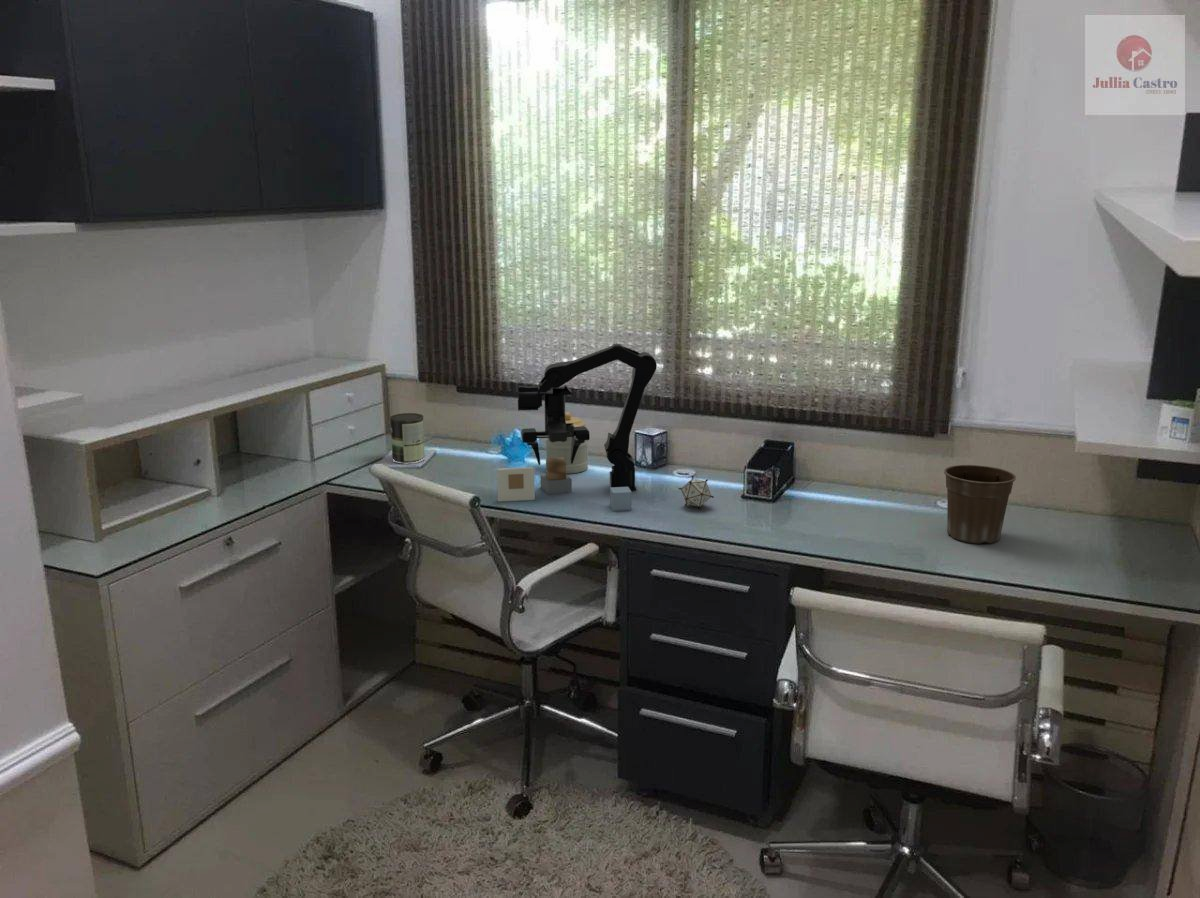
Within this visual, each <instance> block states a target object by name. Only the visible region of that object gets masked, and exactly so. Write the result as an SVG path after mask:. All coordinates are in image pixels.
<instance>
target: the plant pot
mask: <svg viewBox="0 0 1200 898" xmlns="http://www.w3.org/2000/svg"><path fill="white" fill-rule="evenodd" d="M943 473H944V475H945V487H946V491H947V497H946V498H947V499H946V500H947V502H946V503H947V505H946V506H947V508H946V509H947V510H946V511H947V513H946V514H947V519H946V520H947V525H946V531H947V535H948V536H951V537H950V538H952V539H955V540H957V541H959V542H964V543H966V544H967V543H969V544H982V543H987V544H995V543H997V542H999V540H1001V534H1002V529H1003V526H1004V520H1005V515H1006V511H1007V506H1008V502H1009V498H1010V494H1012V489H1013V485H1014V482H1015V481H1016V479H1017V476H1016V474H1014V473H1013V472H1011V471H1009V470H1006V469H1002V468H998V467H994V466H987V465H980V464H979V465H977V464H976V465H975V464H959V465H952V466H948V467H945V468H944V470H943Z"/></svg>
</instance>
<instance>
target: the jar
mask: <svg viewBox="0 0 1200 898" xmlns="http://www.w3.org/2000/svg"><path fill="white" fill-rule="evenodd" d="M565 422H566V424H567V423H573V425H574V427H582V426H585V427H586V422H585V421H584V420H582V419H581V418H580V417H576V416H572V414H571V413H570V412H568V411H565ZM584 441H585V443H581V445H580V446H579V448H578V450H577V452H576V455H575V458H574V461H573V464H571V444H572V437H567V441H565V442H562V441H557V442H550V441H549V438H546V441H545V444H546V445H545V448H546V449H545V451H546V452H545V453H546V457H545V458H560V457H564V459H565V461H566V475H568V474H578V473H582V472H584V471H586V470H588V467H589V454H588V453H589V448H588V447H589V446H588V445H589V440H584Z"/></svg>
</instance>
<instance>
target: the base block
mask: <svg viewBox="0 0 1200 898" xmlns="http://www.w3.org/2000/svg"><path fill="white" fill-rule="evenodd" d="M572 481H573V478H572V477H570V476H569V475H568V474H566V479H557V480H548V477H547V475H546V473H543V474H540V488H541V489H542V490H543V491H544V492H545V493H546V494H547V495H553V494H554V495H555V494H561V493H562V494H563V493H564V494H565V493H570V492H571V493H572V490H573V482H572Z"/></svg>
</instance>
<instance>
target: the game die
mask: <svg viewBox="0 0 1200 898" xmlns="http://www.w3.org/2000/svg"><path fill="white" fill-rule="evenodd" d="M708 480H709V479H708V478H707V479H705V480H702V479H697V478H694V476H693V475H691V479H689V481H688V482H686V484H685V485H683V486H682V487H678V490H679V491H681V493H682V496H683V497H684V498H683V499H684V501H685V504H684V507H686V506H688V505H689V506H693V507H697V508H698V510H699V511H701V510H702V508H701V507H702V506H703V505H704V504H705V503H706V502H708V500H709V499H711V498H713V499H714V498H715V496H714V495H712V494H711V492H710V488H709V486H708V483H707V482H708Z"/></svg>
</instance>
